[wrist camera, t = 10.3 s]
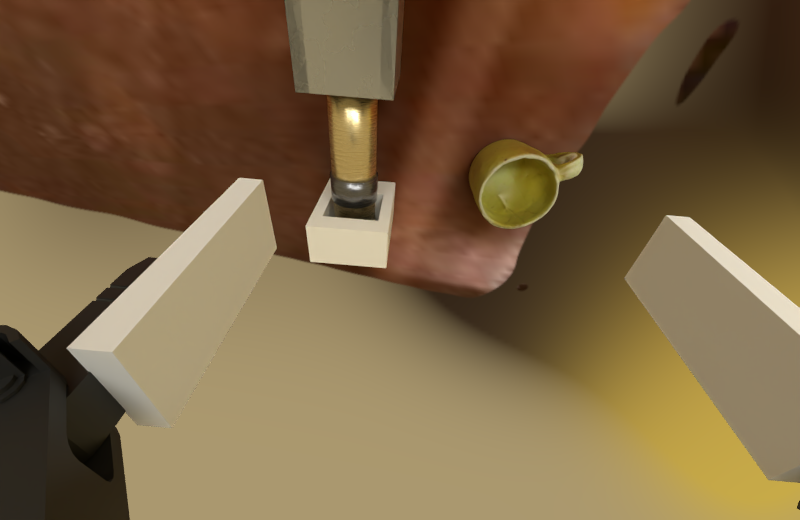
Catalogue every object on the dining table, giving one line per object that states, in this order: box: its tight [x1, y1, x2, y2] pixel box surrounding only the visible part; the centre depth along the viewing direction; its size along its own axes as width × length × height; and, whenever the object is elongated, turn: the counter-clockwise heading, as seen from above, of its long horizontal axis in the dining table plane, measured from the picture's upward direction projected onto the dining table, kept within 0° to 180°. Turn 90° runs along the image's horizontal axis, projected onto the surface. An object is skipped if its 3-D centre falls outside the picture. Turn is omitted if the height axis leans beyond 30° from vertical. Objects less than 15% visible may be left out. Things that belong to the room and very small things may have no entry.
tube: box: [327, 95, 378, 221], centre depth 36 cm, size 17×5×5 cm, turn 176°
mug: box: [469, 139, 583, 229], centre depth 41 cm, size 12×10×10 cm
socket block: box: [306, 179, 395, 268], centre depth 42 cm, size 5×9×12 cm, turn 86°
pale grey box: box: [284, 0, 405, 100], centre depth 29 cm, size 12×9×11 cm
